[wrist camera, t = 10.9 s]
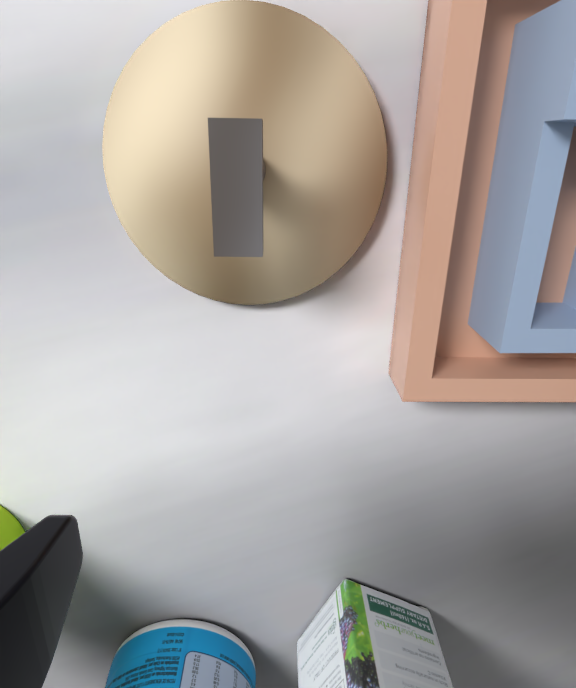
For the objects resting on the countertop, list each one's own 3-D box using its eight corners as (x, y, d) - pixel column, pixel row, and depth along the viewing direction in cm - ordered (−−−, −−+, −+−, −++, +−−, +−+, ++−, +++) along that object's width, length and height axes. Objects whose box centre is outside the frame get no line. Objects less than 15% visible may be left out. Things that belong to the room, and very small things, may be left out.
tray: (745, -49, 15) (830, -85, 13) (614, 374, 21) (656, 402, 18) (434, -57, 15) (464, -96, 12) (388, 373, 20) (402, 401, 18)
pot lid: (397, 8, 15) (446, -51, 11) (371, 301, 19) (401, 347, 15) (89, 1, 15) (8, -63, 11) (125, 299, 19) (77, 345, 14)
